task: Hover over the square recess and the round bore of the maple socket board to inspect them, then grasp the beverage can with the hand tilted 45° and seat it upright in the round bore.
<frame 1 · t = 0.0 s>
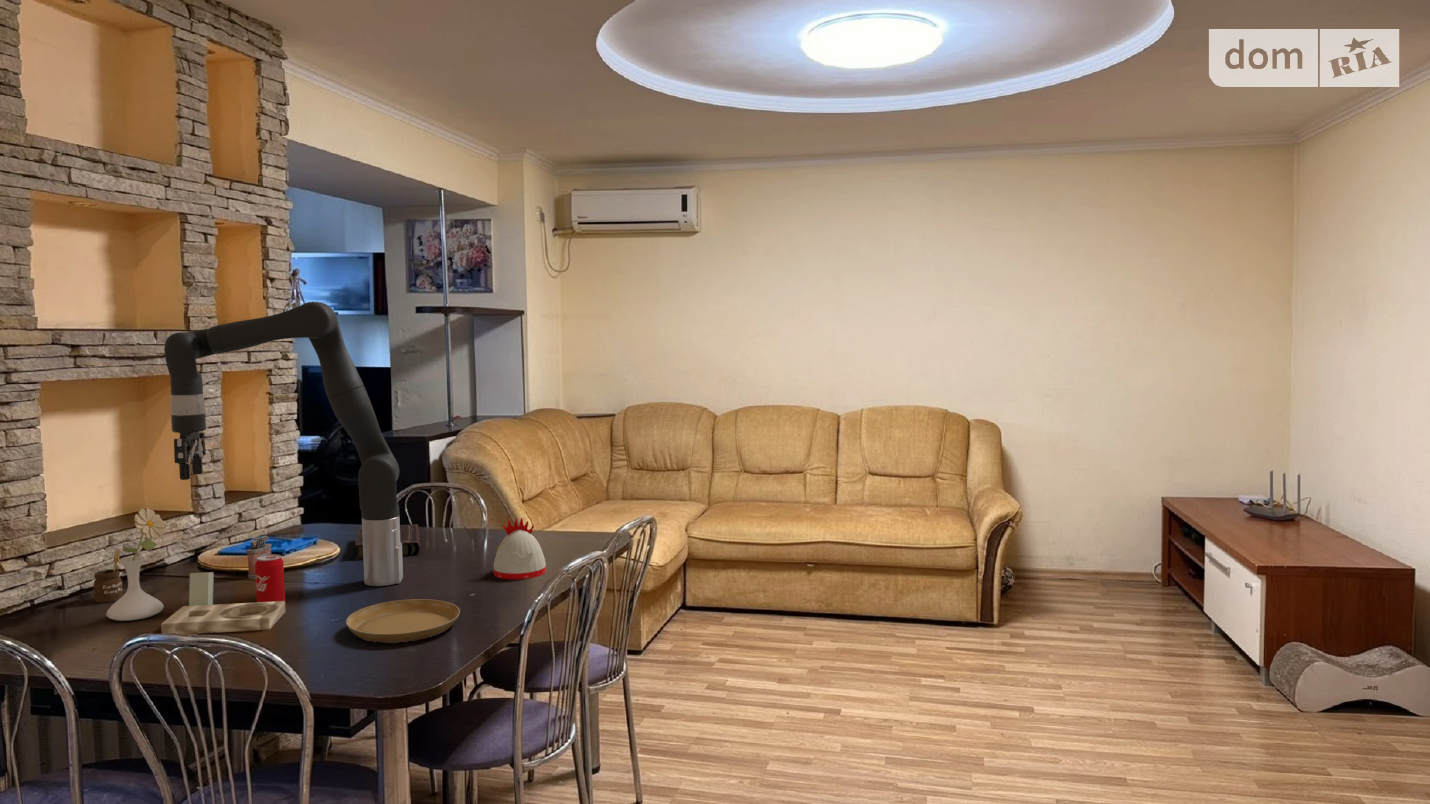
hand: (191, 476, 242), 29 cm above the table, tool pointing down, fingers open, 8 cm apart
beverage can: (271, 606, 231), on the table
socket board: (226, 625, 217), on the table
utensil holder: (109, 600, 237), on the table
lighter: (260, 575, 260), on the table
kitchen timer: (519, 573, 261), on the table
square peg: (200, 611, 225), on the table, tilted 15°
plant saucer: (404, 630, 214), on the table
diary: (387, 549, 289), on the table
flower in vase: (139, 617, 224), on the table
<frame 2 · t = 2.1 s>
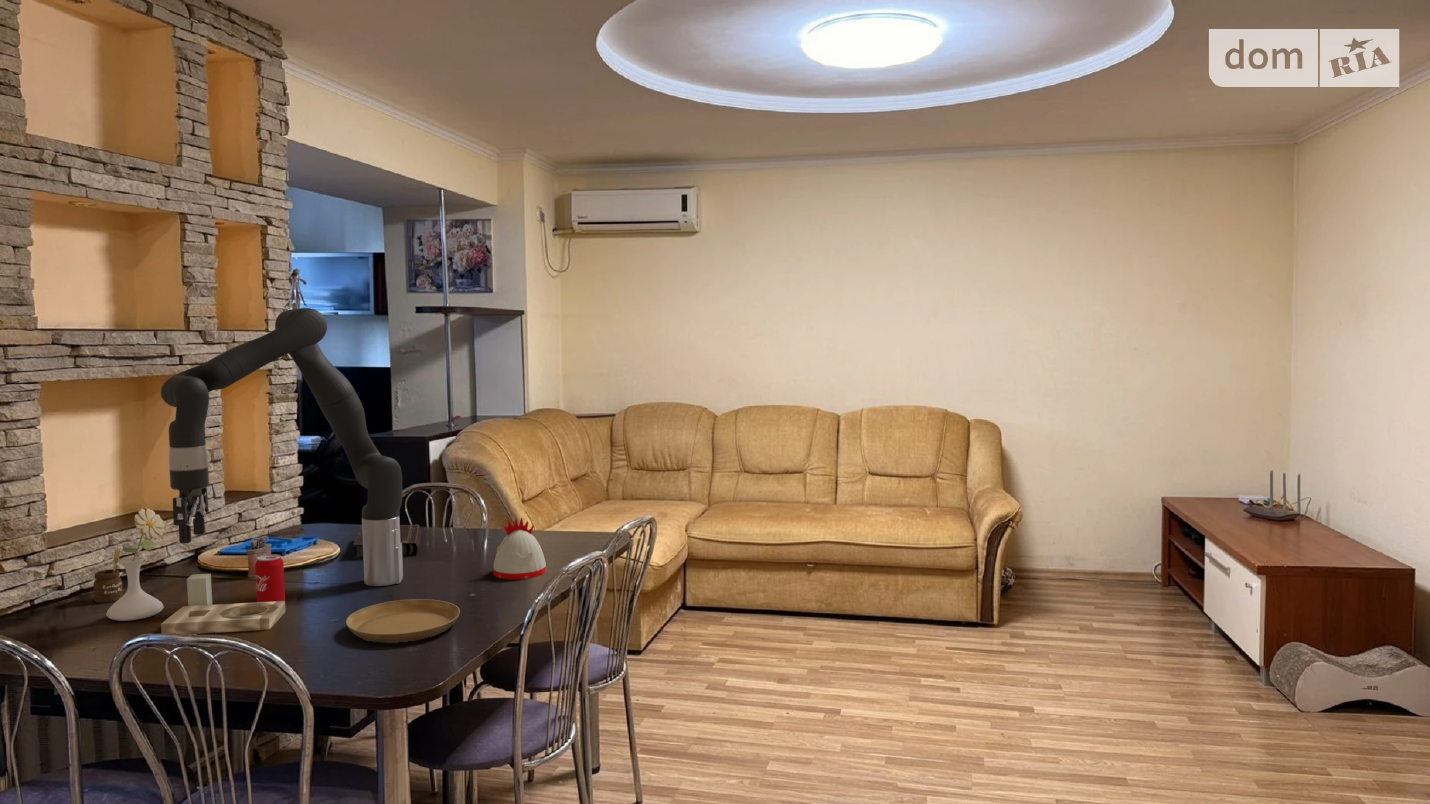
hand: (192, 538, 214), 20 cm above the table, tool pointing down, fingers open, 8 cm apart
square peg: (200, 614, 225), on the table
everything else where it was.
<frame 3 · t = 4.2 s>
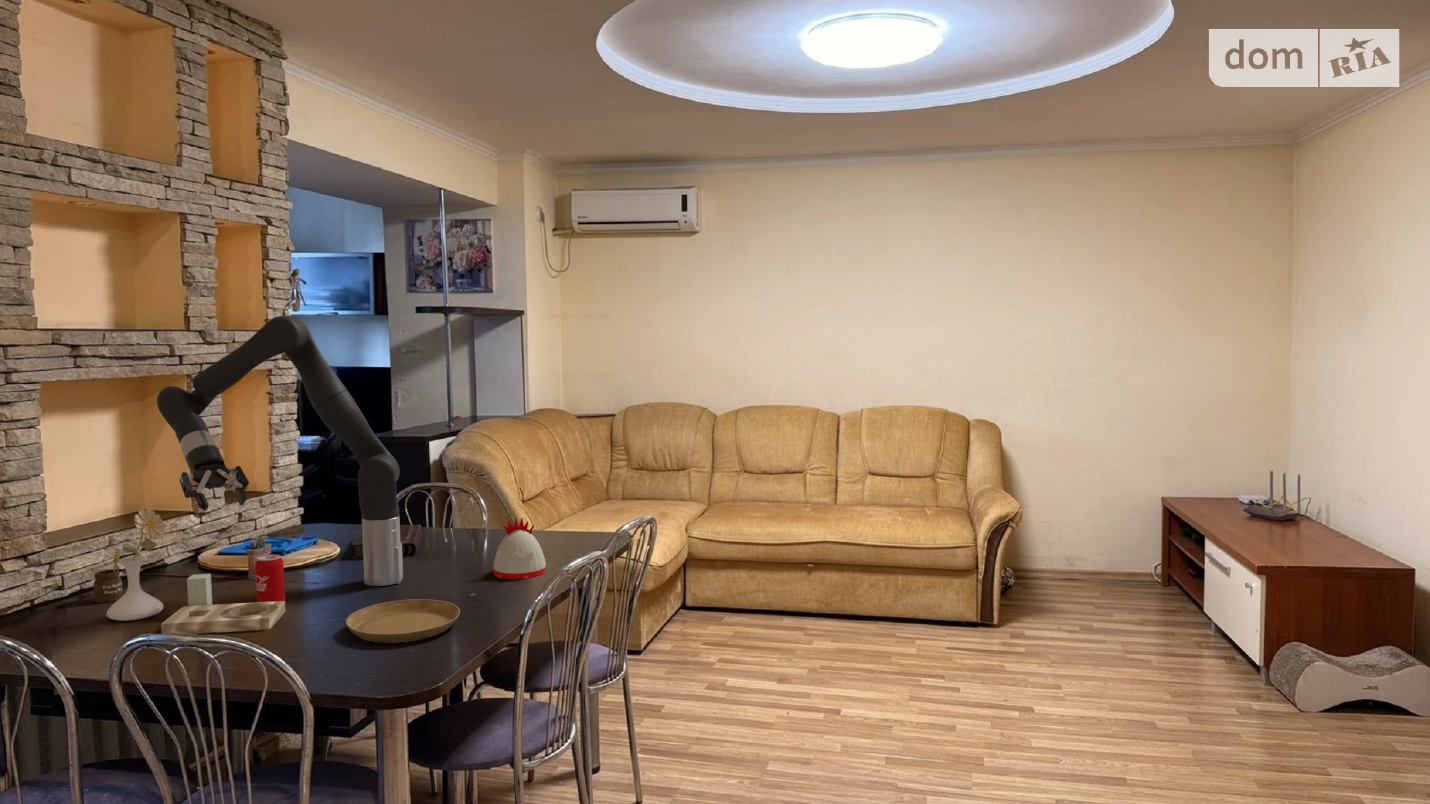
hand: (224, 505, 229), 24 cm above the table, tool tilted 45°, fingers open, 8 cm apart
nothing on the table moved.
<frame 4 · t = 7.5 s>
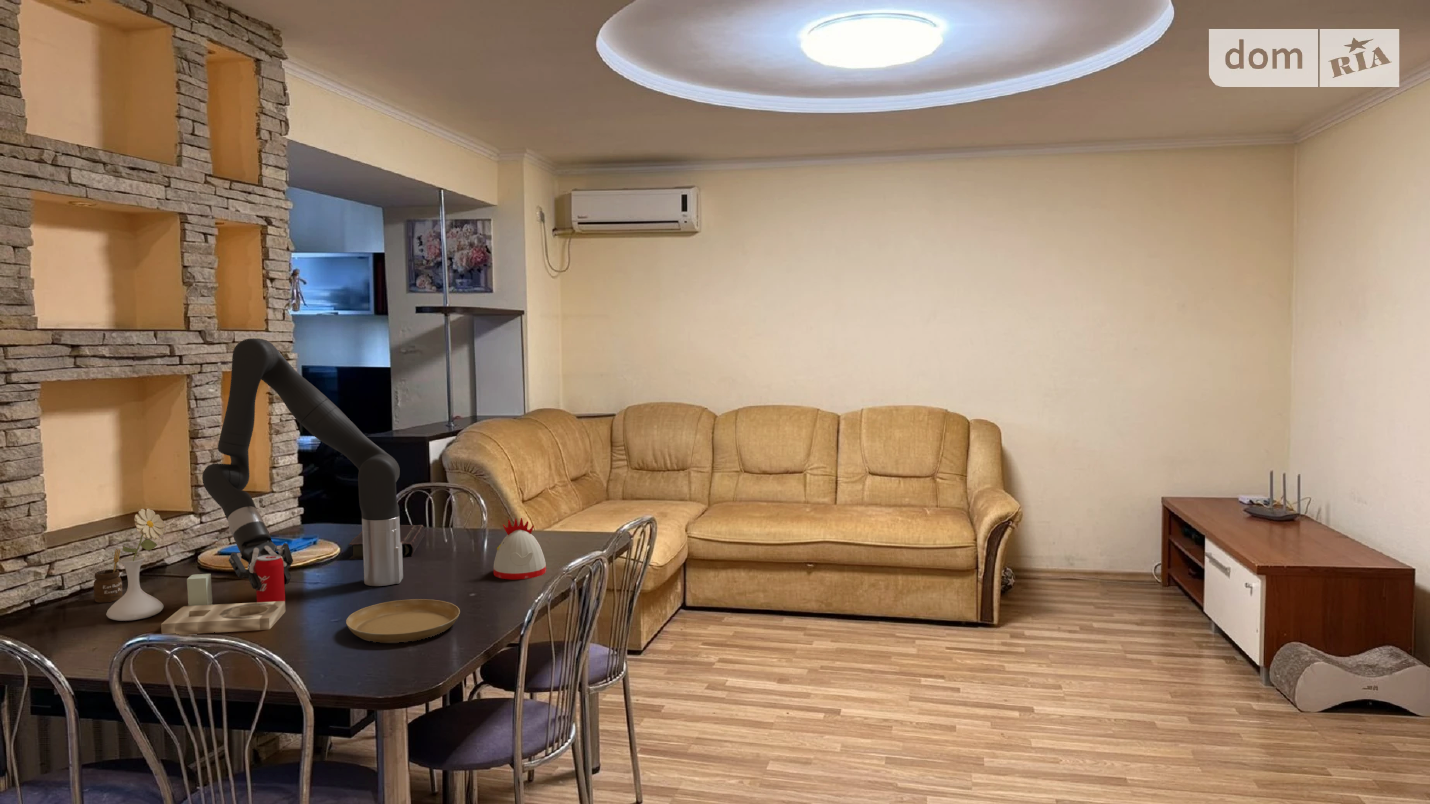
hand: (273, 585, 230), 5 cm above the table, tool tilted 45°, fingers closed on beverage can, 6 cm apart
beverage can: (271, 606, 231), on the table, touching gripper
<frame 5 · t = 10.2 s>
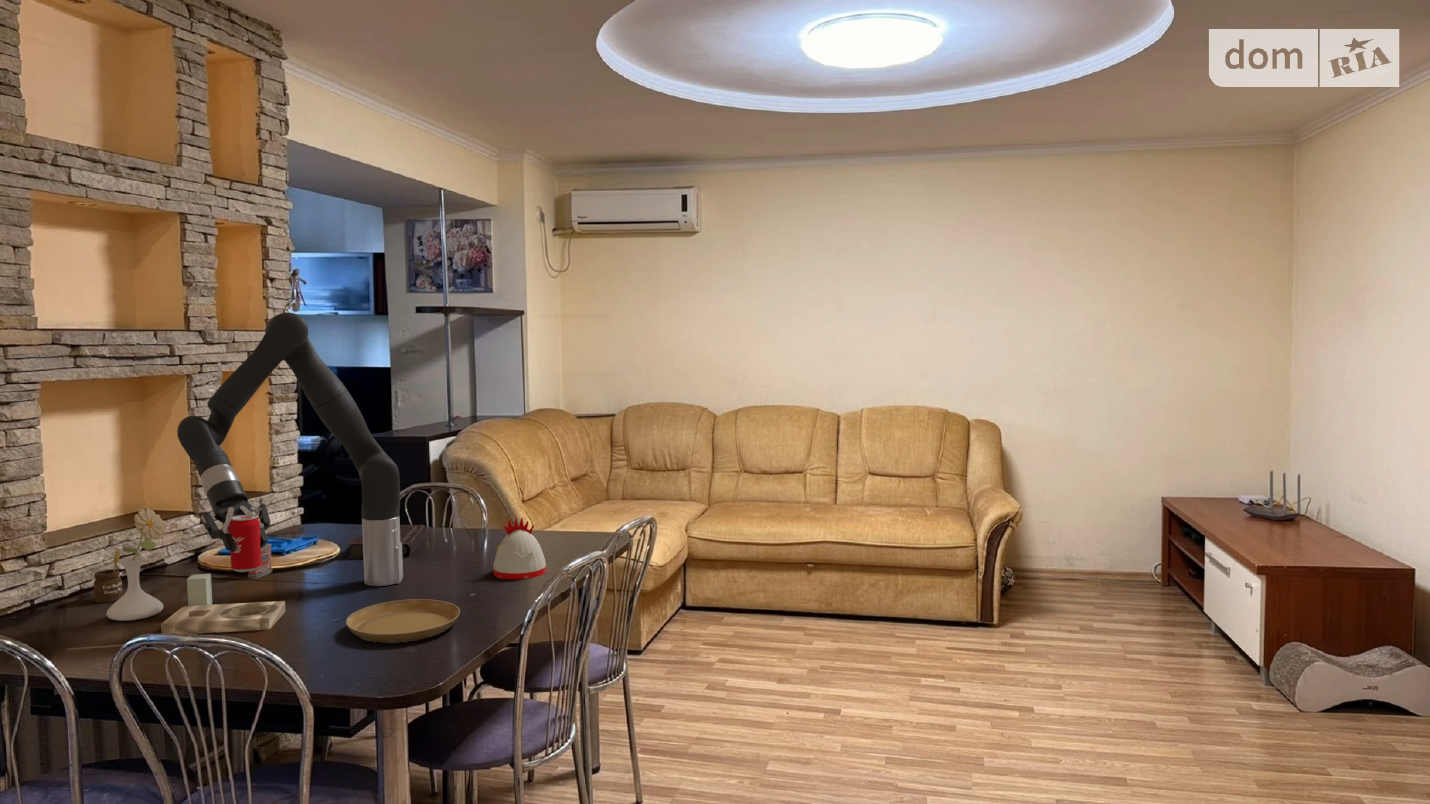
hand: (249, 547, 215), 18 cm above the table, tool tilted 45°, fingers closed on beverage can, 6 cm apart
beverage can: (246, 570, 217), point 12 cm above the table, touching gripper
when the fingers open (7 cm above the table, at t = 13.1 s): beverage can drops 2 cm, resting in socket board.
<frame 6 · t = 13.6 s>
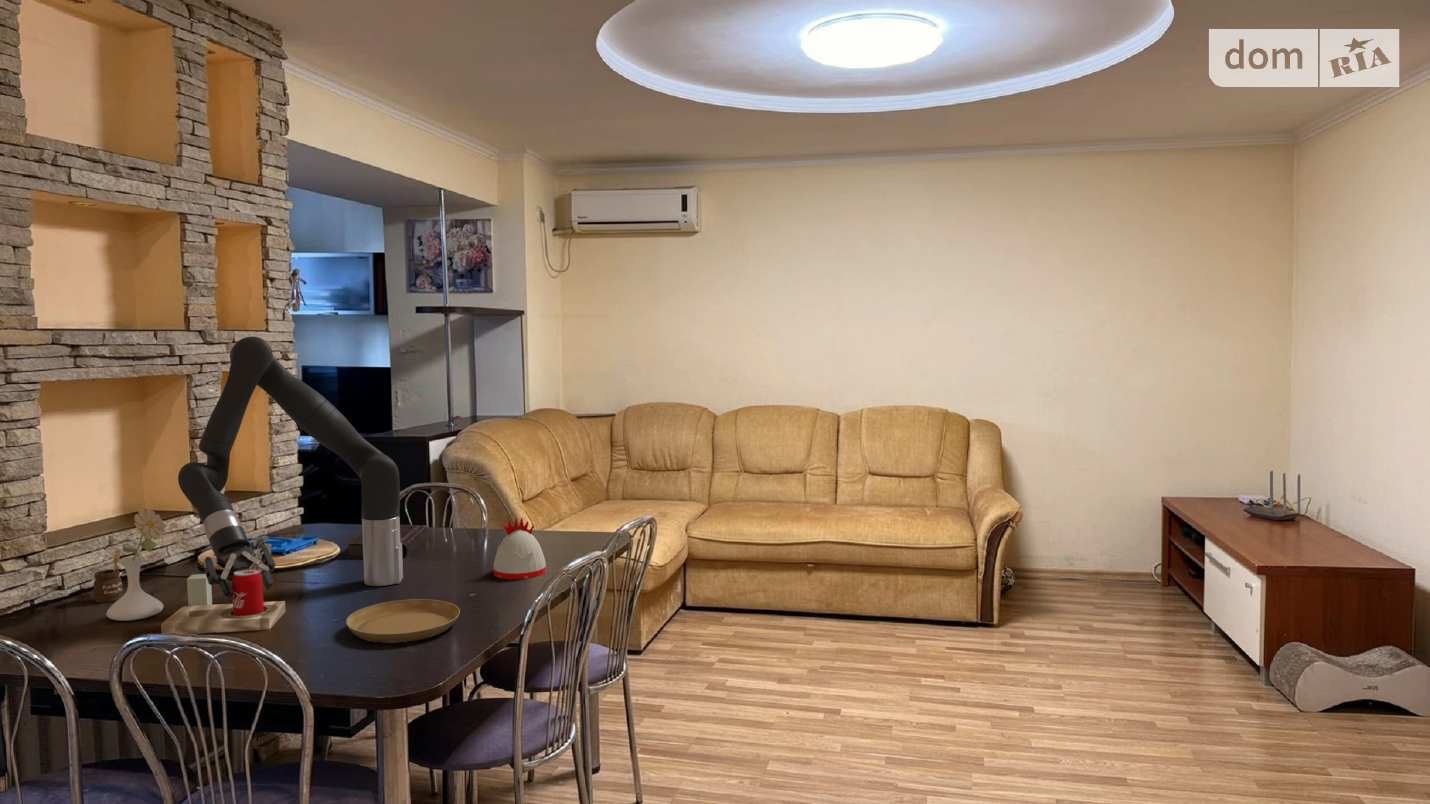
hand: (250, 591, 216), 8 cm above the table, tool tilted 45°, fingers open, 8 cm apart
beverage can: (249, 624, 218), resting in socket board
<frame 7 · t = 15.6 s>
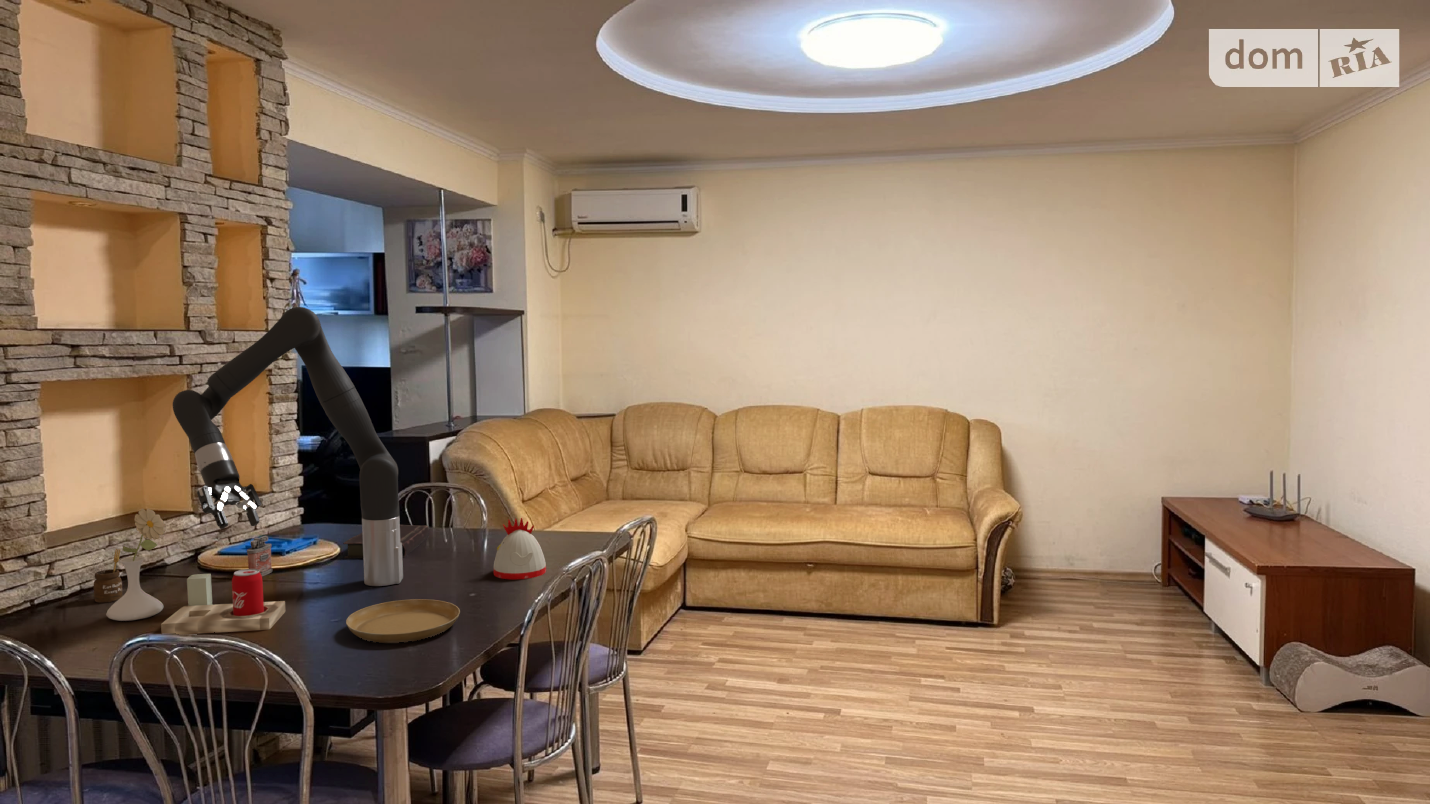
hand: (240, 525, 226), 20 cm above the table, tool tilted 35°, fingers open, 8 cm apart
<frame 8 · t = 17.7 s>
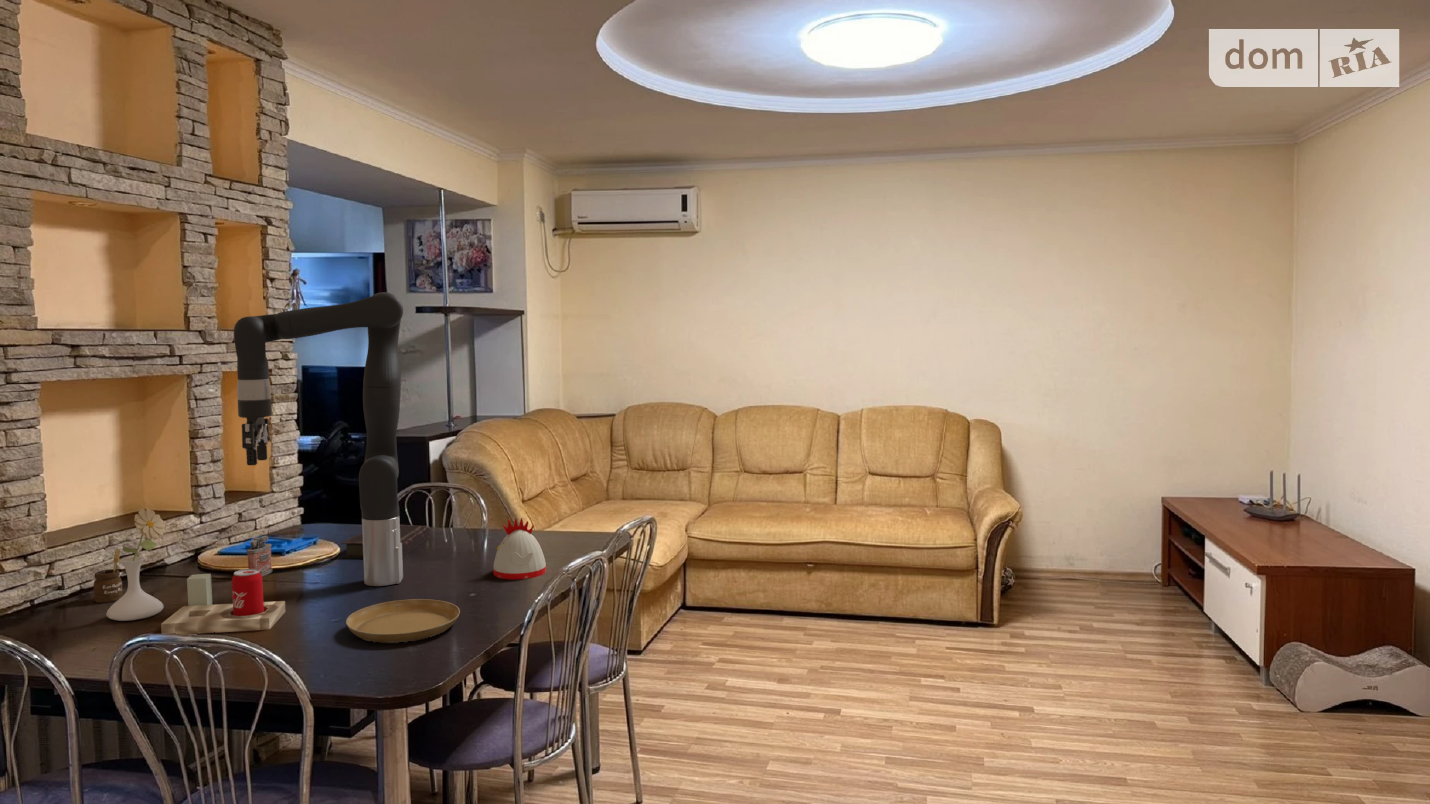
hand: (257, 462, 239), 33 cm above the table, tool pointing down, fingers open, 8 cm apart
at the end: beverage can 0.2 cm from the target spot, resting in socket board; beverage can tilted 0°; the gripper is holding nothing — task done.
